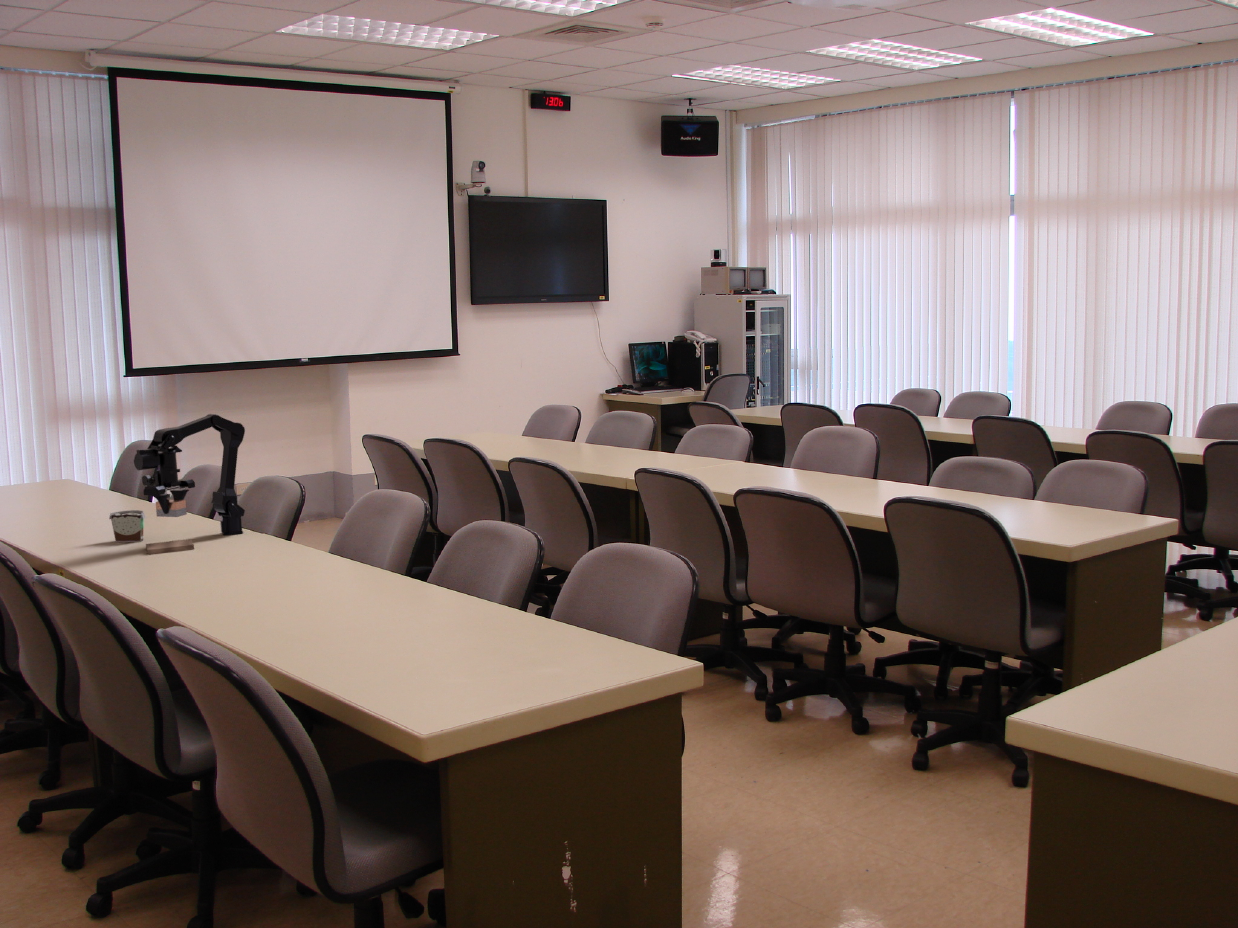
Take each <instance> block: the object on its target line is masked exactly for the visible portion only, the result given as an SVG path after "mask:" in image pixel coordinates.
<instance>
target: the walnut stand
mask: <svg viewBox="0 0 1238 928" xmlns="http://www.w3.org/2000/svg"><path fill="white" fill-rule="evenodd" d="M145 548H146V552H147V554H148V555H154V554H155V555H156V554H164V553H171V552H179V551H190V550H195V545H194V542H193V541H192V539H191V538H187V539H178V540H169V541H162V542H161V541H160V542H153V543H151V542H150V543H145Z"/></svg>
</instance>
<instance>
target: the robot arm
mask: <svg viewBox="0 0 1238 928" xmlns="http://www.w3.org/2000/svg"><path fill="white" fill-rule="evenodd" d="M210 428H212V429H214V430H215V431H217V432H218V433H219V434H220V435H219V436H220V441H221V443H222V446H223V450H222V459H221V462H222V463H221V471H220V480H219V487H218V489H217V491H212V500H211V502H210V503H211V504H212V508H213V509H214V511H216V512H217V515H218V516H219V517H221V520H220V521H219V522H220V532H221V533H222V534H223V536H228V535H229V536H230V535H238V534H239V535H240V534H244V531H243V522H242V517H244V516H245V512H246V510H245V509H244V508H243V507H242V506H240V505H239V504H238V495H237V493H236V490H235V483H236V474H237V473H236V472H237V464H238V462H237V461H238V454H239V453H238V452H239V447H240V445H241V444H242V443H243V441H244V438H245V432H246V428H245V426H244V425H243V424H242V423H241V422H234V421H232V420H229V419H227V418H224V417H222V416H220V415H218V414H216V413H209V414H207V415H205V416H202V417H200V418H197V419H194V420H192V421H189V422H186V423H183V424H181V425H179V426H175V427H174V426H173V427H166V428H161V429H160V428H159V429H157V430H155V432H154V434H153V438H152V440H151V442H150V443H149V445H148V447H147V449H146V448H145V449H140V448H139V449H137V450H136V453H135V455H134V458H133V464H134V467H135V469H136V470H137V471H146V470H153V469H154V470H155V469H157V468H158V469H157V470H155V475H149V474H145V475H143V476H142V477H141V482H142V485H143V486H145V487H144V488H143V490H142V491H143V496H149V497H154V498H155V499H156V500H157V501H158V502H159V504H160V506H161V508H162V510H163V512H164V514H167V513H168V509H169V501H170V500H171V495H172V496H173V497H172V498H173V500H185V497H186V496H187V493H188V492H189V491H190V489H193V488H195V487H196V483H195V480H194V479H193V478H180V479H179V473H180V472H181V468H178V461H177V453H182V452H183V450H182V449H181V448H179V446H178V444H179V443H181V442H182V441H184V439H186V438H188V437H189V436H192V435H194V434H198V433H201V432H203V431H206V430H208V429H210ZM168 491H169V492H170V493H171V494H170V493H168Z"/></svg>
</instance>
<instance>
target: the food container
mask: <svg viewBox="0 0 1238 928" xmlns="http://www.w3.org/2000/svg"><path fill="white" fill-rule="evenodd" d="M109 514H110V515H109V520H110V521H111V527H112V531H113V535H114V540H115V543H119V542H121V543H124V542H125V543H126V542H130V543H132V542H133V543H134V542H139V543H140V542H143V541H144V520H145V519H146V515H145V512H144V511H143V510H134V509H132V510H131V509H130V510H122V511H121V510H120V511H115V512H110V513H109Z"/></svg>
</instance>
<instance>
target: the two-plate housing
mask: <svg viewBox="0 0 1238 928" xmlns="http://www.w3.org/2000/svg"><path fill="white" fill-rule="evenodd" d="M186 503H187V500H186V499H184V500H174V499H170V501H169V509H168V513H167V514H164V512H163V510H162V508H161V506H160V504H159V502H158V500H157V501H155V512H156V518H157V517H159V518H161V517H163V518H164V517H165V518H178V517H181V516H182V517H183V516H186V515H187V514H188V513H187V504H186Z"/></svg>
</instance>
